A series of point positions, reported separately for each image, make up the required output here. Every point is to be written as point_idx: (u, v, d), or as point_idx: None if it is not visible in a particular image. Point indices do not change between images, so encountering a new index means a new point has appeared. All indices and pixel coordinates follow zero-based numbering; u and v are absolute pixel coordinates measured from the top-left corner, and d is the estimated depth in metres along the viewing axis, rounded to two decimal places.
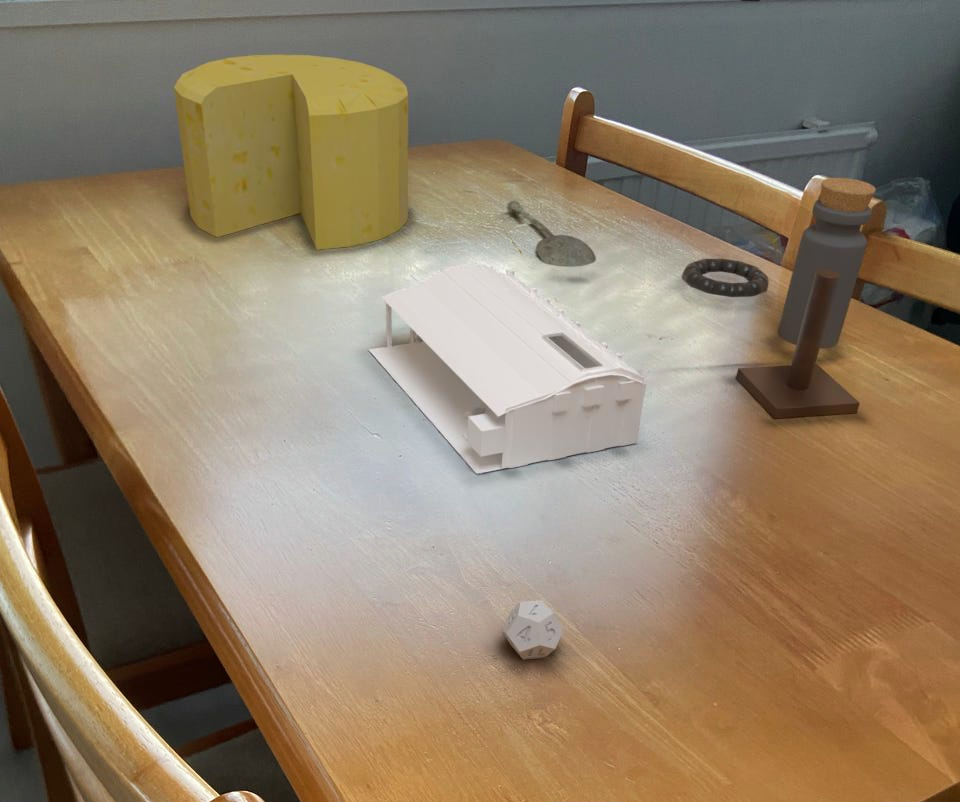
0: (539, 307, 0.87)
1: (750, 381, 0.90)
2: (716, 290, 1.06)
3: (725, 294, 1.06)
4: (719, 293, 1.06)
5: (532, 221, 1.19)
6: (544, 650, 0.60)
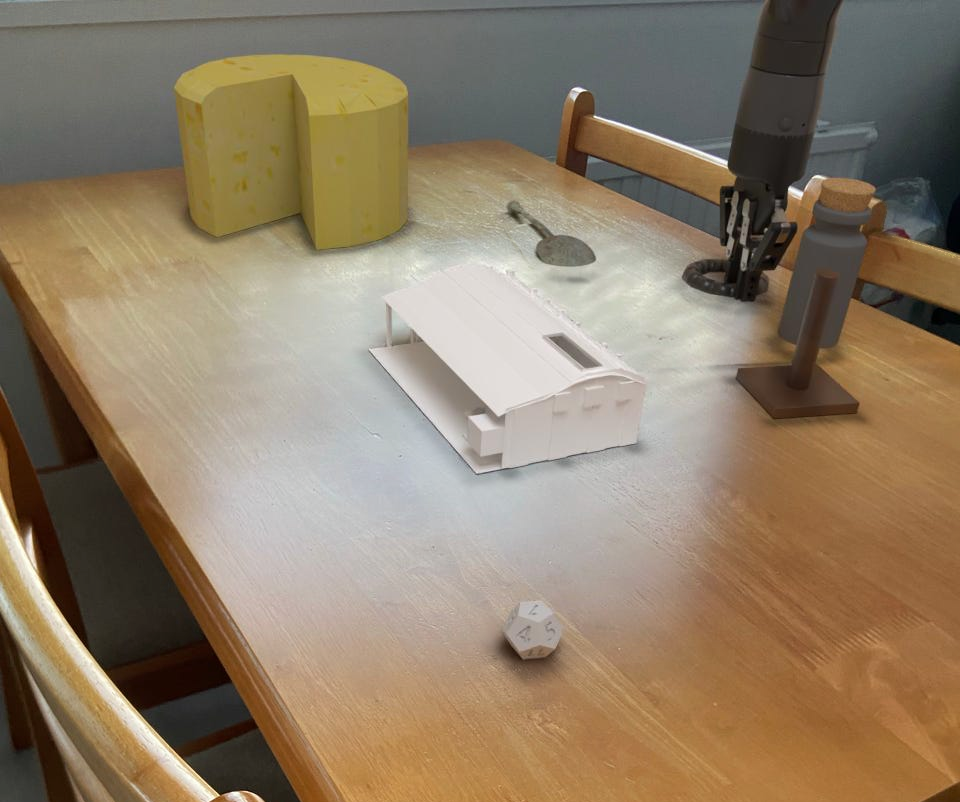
0: (539, 307, 0.87)
1: (750, 381, 0.90)
2: (716, 290, 1.06)
3: (725, 294, 1.06)
4: (719, 293, 1.06)
5: (532, 221, 1.19)
6: (544, 650, 0.60)
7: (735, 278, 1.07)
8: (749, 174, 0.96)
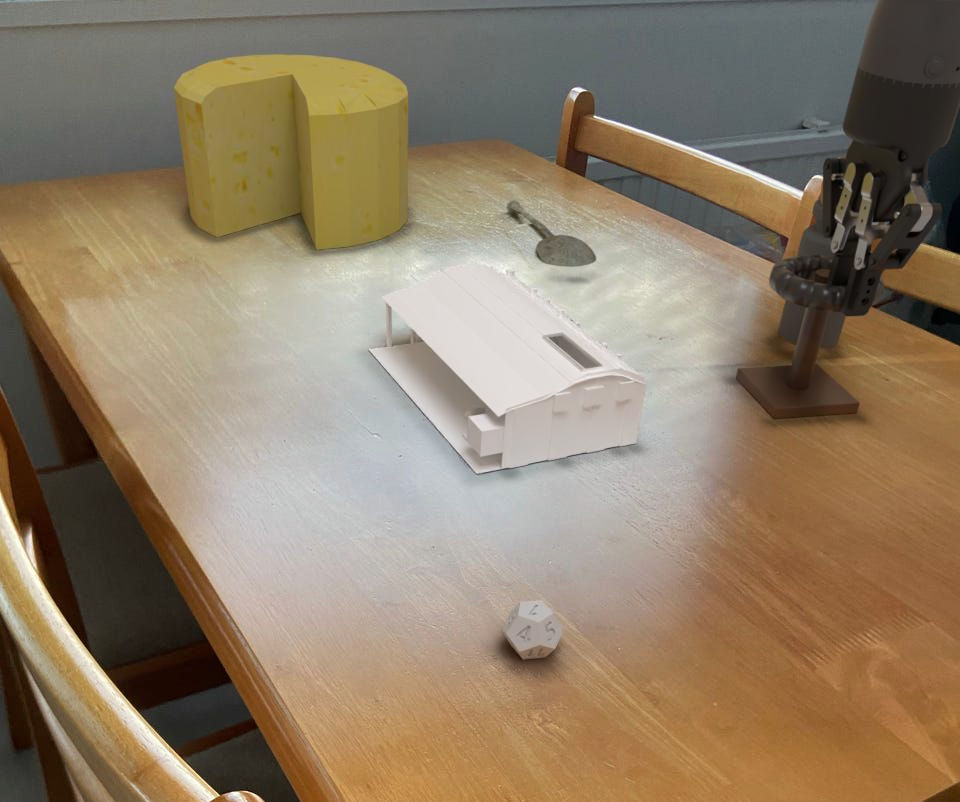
0: (539, 307, 0.87)
1: (750, 381, 0.90)
2: (817, 295, 0.81)
3: (829, 300, 0.80)
4: (821, 299, 0.81)
5: (532, 221, 1.19)
6: (544, 650, 0.60)
7: (843, 279, 0.81)
8: (877, 138, 0.71)
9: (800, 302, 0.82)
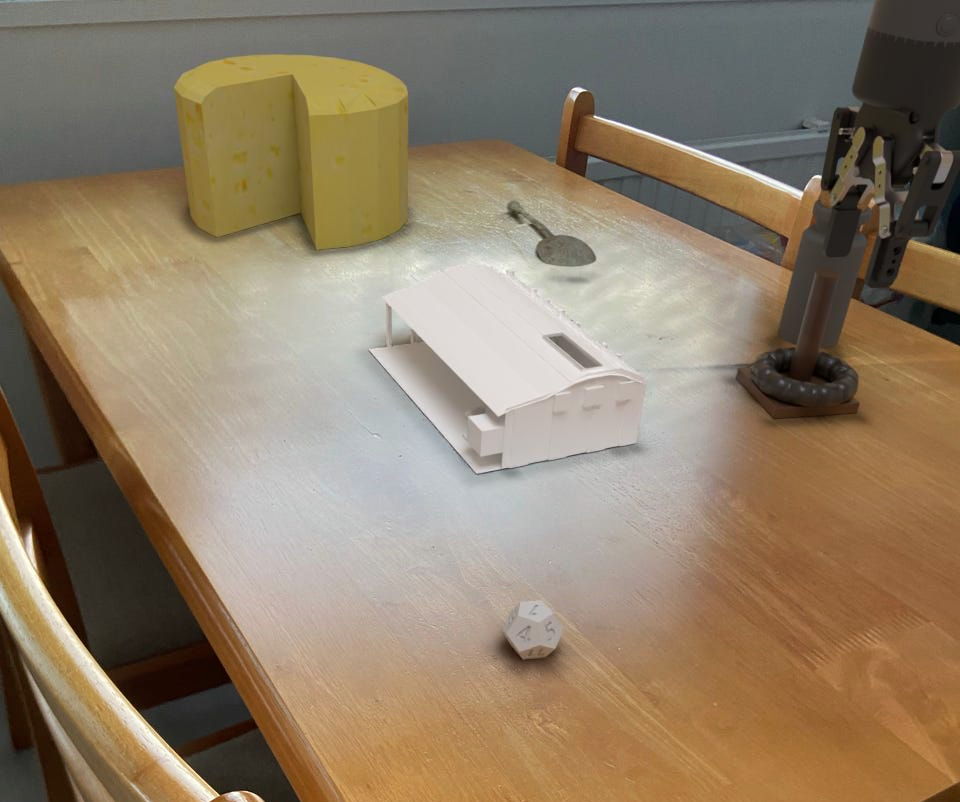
0: (539, 307, 0.87)
1: (750, 381, 0.90)
2: (794, 392, 0.86)
3: (805, 397, 0.86)
4: (798, 396, 0.86)
5: (532, 221, 1.19)
6: (544, 650, 0.60)
7: (841, 233, 0.81)
8: (887, 99, 0.69)
9: (778, 397, 0.87)
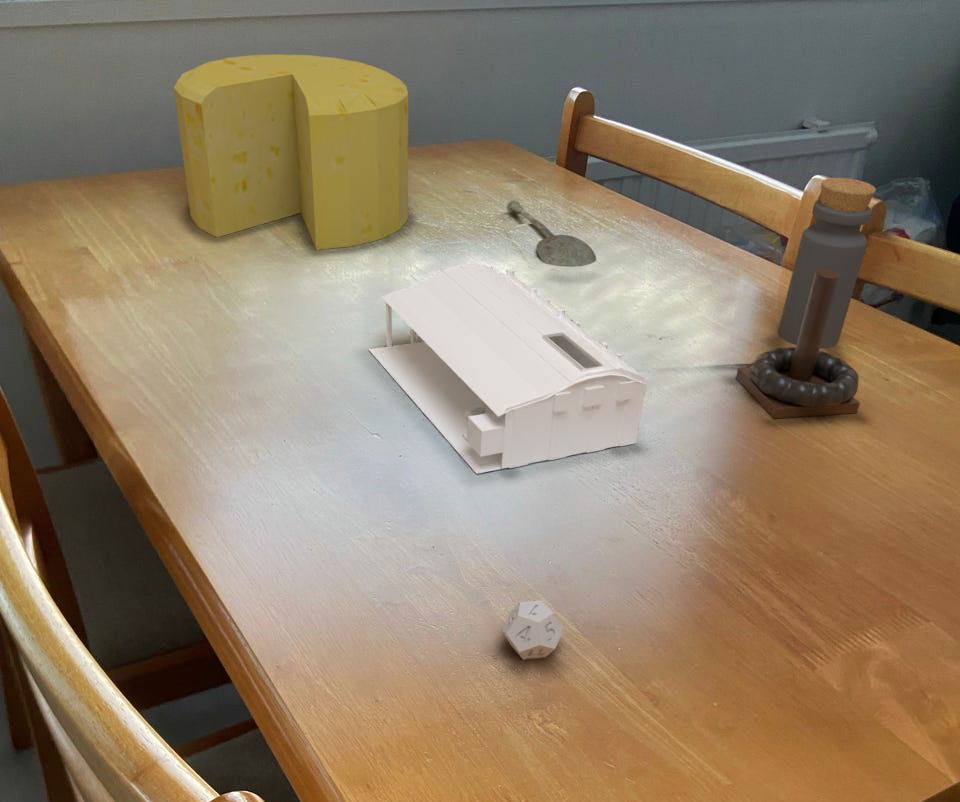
0: (539, 307, 0.87)
1: (750, 381, 0.90)
2: (794, 392, 0.86)
3: (805, 397, 0.86)
4: (798, 396, 0.86)
5: (532, 221, 1.19)
6: (544, 650, 0.60)
7: None
8: None
9: (778, 397, 0.87)
